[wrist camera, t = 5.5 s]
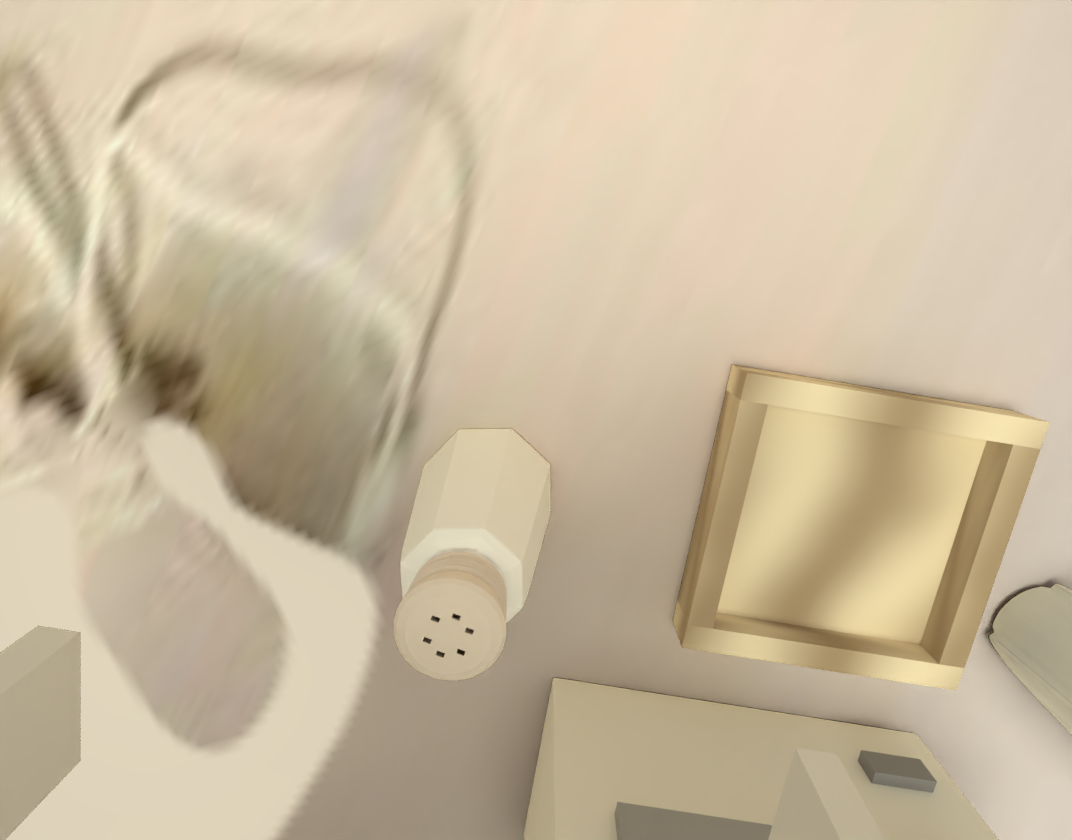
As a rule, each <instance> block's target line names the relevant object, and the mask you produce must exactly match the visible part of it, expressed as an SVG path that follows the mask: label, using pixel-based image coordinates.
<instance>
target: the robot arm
mask: <svg viewBox="0 0 1072 840" xmlns="http://www.w3.org/2000/svg"><path fill="white" fill-rule="evenodd" d="M79 761H80V632H75V631H69V630H63V629H56V628H50V627H44V626H37V627H36V628H34V629H33V630H31V631H30V632H29V633H27V634H26V635H24V636H23V637H22V638H20V639H19V640H17V641H16V642H14V643H13V644H12V645H10V646H9V647H7V648H6V649H5V650H3V651H2V652H0V840H5V839H6V838H7V837H8V836H9V835H10V834H11V833H12V832H13V831H14V830H15V829H16V828H17V827H18V826H19V825H20V824H21V822H22V821H23V820H24V819H25V818H26V817H27V816H28V815H29V814H30V813H31V812H32V811H33V810H34V809H35V808H36V807H37V806H38V805H39V804H40V803H41V801H42V800H43V799H44V798H45V797H46V796H47V795H48V794H49V793H50V792H51V791H52V790H53V789H54V788H55V787H56V786H57V785H58V784H59V783H60V782H61V780H62V779H63V778H64V777H65V776H66V775H67V774H68V773H69V772H70V771H71V770H72V769H73V768H74V767H75V766H76V764H78V763H79ZM768 840H885V839H884V837H883V835H882V833H881V832H880V830H879V828H878V826H877V825H876V823H875V821H874V819H873V817H872V816H871V814H870V812H869V810H868V809H867V807H866V805H865V803H864V802H863V800H862V798H861V796H860V794H859V793H858V791H857V789H856V787H855V786H854V784H853V782H852V780H851V779H850V777H849V775H848V773H847V771H846V770H845V768H844V766H843V764H842V763H841V761H840V759H839V757H838V756H837V754H832V753H826V752H820V751H813V750H807V749H801V748H795V751H794V754H793V757H792V761H791V764H790V768H789V771H788V774H787V778H786V781H785V785H784V788H783V791H782V795H781V798H780V801H779V805H778V808H777V812H776V815H775V818H774V822H773V825H772V828H771V832H770V835H769V839H768Z"/></svg>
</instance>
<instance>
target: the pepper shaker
mask: <svg viewBox="0 0 1072 840" xmlns="http://www.w3.org/2000/svg"><path fill="white" fill-rule="evenodd" d="M550 514H551V496H550V464H549V463H548V462H547V461H546V460H545V459H544V458H543V457H542V456H541V455H540V454H539V453H538V452H537V451H535V450H534V449H533V448H532V447H531V446H530V445H529V444H528V443H527V442H526V441H525V440H524V439H523V438H522V437H520V436H519V435H518V434H517V433H516V432H515V431H514V430H513V429H459V430H458V431H457V432H456V433H455V434H454V435H453V436H452V437H451V438H450V439H449V440H448V441H447V442H446V443H445V444H444V446H443V447H442V448H441V449H440V450H439V451H438V452H437V453H436V454H435V455H434V456H433V457H432V458H431V459H430V460H429V461H428V462H427V463H426V464H425V465H424V467H423V471H422V475H421V479H420V483H419V487H418V491H417V494H416V498H415V502H414V506H413V510H412V514H411V518H410V522H409V525H408V529H407V533H406V537H405V541H404V545H403V549H402V554H401V561H400V571H401V586H402V601H401V603H400V604H399V606H398V608H397V610H396V613H395V617H394V622H393V631H394V639H395V642H396V644H397V647H398V650H399V651H400V653H401V654H402V656H403V657H404V658H405V660H406V661H407V662H408V663H409V664H410V665H411V666H413V667H414V668H415V669H416V670H417V671H419V672H421V673H423V674H425V675H427V676H429V677H432V678H436V679H440V680H445V681H460V680H464V679H468V678H472V677H475V676H477V675H478V674H480V673H482V672H484V671H486V670H487V669H488V668H489V667H490V666H491V665H492V664H494V663H495V662H496V660H497V659H498V657H499V655H500V654H501V652H502V651H503V648H504V644H505V640H506V623H507V622H508V621H509V620H511V619H512V618H513V617H514V616H515V615H516V614H517V613H518V612H519V611H520V610H521V609H522V608H523V606H524V604H525V601H526V599H527V596H528V592H529V589H530V585H531V582H532V578H533V575H534V571H535V568H536V564H537V561H538V557H539V553H540V550H541V546H542V543H543V539H544V536H545V532H546V529H547V525H548V522H549V518H550Z"/></svg>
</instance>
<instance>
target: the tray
mask: <svg viewBox="0 0 1072 840" xmlns="http://www.w3.org/2000/svg"><path fill="white" fill-rule="evenodd" d="M1049 423H1050V422H1047V421H1043V420H1040V419H1037V418H1034V417H1031V416H1028V415H1025V414H1021V413H1018V412H1015V411H1012V410H1006V409H1000V408H994V407H988V406H982V405H976V404H969V403H963V402H957V401H951V400H945V399H939V398H933V397H927V396H921V395H915V394H909V393H903V392H896V391H890V390H884V389H878V388H872V387H866V386H860V385H854V384H848V383H842V382H836V381H830V380H823V379H817V378H811V377H805V376H799V375H793V374H787V373H781V372H775V371H769V370H763V369H756V368H750V367H744V366H738V365H732V367H731V371H730V375H729V380H728V384H727V388H726V393H725V397H724V401H723V406H722V410H721V414H720V419H719V423H718V427H717V432H716V436H715V440H714V445H713V449H712V453H711V458H710V462H709V466H708V471H707V475H706V479H705V484H704V488H703V492H702V497H701V501H700V505H699V510H698V514H697V518H696V523H695V527H694V531H693V536H692V540H691V544H690V549H689V553H688V557H687V562H686V566H685V570H684V575H683V579H682V583H681V588H680V592H679V596H678V601H677V605H676V609H675V614H674V618H673V623H674V626H675V629H676V632H677V635H678V638H679V640H680V643H681V646H682V648H688V649H694V650H700V651H707V652H713V653H720V654H726V655H733V656H739V657H745V658H752V659H758V660H765V661H771V662H777V663H784V664H790V665H797V666H803V667H809V668H816V669H822V670H829V671H835V672H841V673H848V674H854V675H861V676H867V677H873V678H880V679H886V680H893V681H899V682H905V683H912V684H918V685H925V686H931V687H937V688H944V689H950V690H957V687H958V685H959V682H960V679H961V676H962V673H963V670H964V667H965V664H966V662H967V659H968V656H969V653H970V650H971V647H972V644H973V641H974V639H975V636H976V633H977V630H978V627H979V624H980V621H981V618H982V616H983V613H984V610H985V607H986V604H987V601H988V598H989V595H990V593H991V590H992V587H993V584H994V581H995V578H996V575H997V572H998V570H999V567H1000V564H1001V561H1002V558H1003V555H1004V552H1005V549H1006V547H1007V544H1008V541H1009V538H1010V535H1011V532H1012V529H1013V526H1014V524H1015V521H1016V518H1017V515H1018V512H1019V509H1020V506H1021V503H1022V501H1023V498H1024V495H1025V492H1026V489H1027V486H1028V483H1029V480H1030V478H1031V475H1032V472H1033V469H1034V466H1035V463H1036V460H1037V457H1038V455H1039V452H1040V449H1041V446H1042V443H1043V440H1044V437H1045V434H1046V432H1047V429H1048V426H1049Z"/></svg>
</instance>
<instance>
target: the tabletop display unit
mask: <svg viewBox="0 0 1072 840" xmlns="http://www.w3.org/2000/svg"><path fill="white" fill-rule="evenodd" d="M795 748H801V749H807V750H813V751H820V752H826V753H832V754H837V756H838V757H839V759H840V761H841V763H842V764H843V766H844V768H845V770H846V771H847V773H848V775H849V777H850V779H851V780H852V782H853V784H854V786H855V787H856V789H857V791H858V793H859V794H860V796H861V798H862V800H863V802H864V803H865V805H866V807H867V809H868V810H869V812H870V814H871V816H872V817H873V819H874V821H875V823H876V825H877V826H878V828H879V830H880V832H881V833H882V835H883V837H884V839H885V840H999V839H998V838H997V837H996V835H995V834H994V833H993V831H992V830H991V829H990V828H989V826H988V825H987V824H986V822H985V821H984V820H983V819H982V817H981V816H980V815H979V814H978V812H977V811H976V810H975V808H974V807H973V806H972V805H971V803H970V802H969V801H968V799H967V798H966V797H965V796H964V794H963V793H962V792H961V790H960V789H959V788H958V787H957V785H956V784H955V783H954V782H953V780H952V779H951V778H950V776H949V775H948V774H947V773H946V771H945V770H944V769H943V767H942V766H941V765H940V764H939V762H938V761H937V760H936V758H935V757H934V756H933V755H932V753H931V752H930V751H929V749H928V748H927V747H926V746H925V744H924V743H923V742H922V741H921V739H920V738H919V737H918V735H917V734H915V733H909V732H902V731H896V730H889V729H883V728H876V727H870V726H863V725H857V724H851V723H844V722H838V721H831V720H825V719H818V718H812V717H805V716H799V715H792V714H786V713H779V712H773V711H767V710H760V709H754V708H747V707H741V706H734V705H728V704H721V703H715V702H708V701H702V700H695V699H689V698H683V697H676V696H670V695H663V694H657V693H650V692H644V691H637V690H631V689H624V688H618V687H611V686H605V685H599V684H592V683H586V682H579V681H573V680H566V679H560V678H553V681H552V687H551V692H550V697H549V702H548V708H547V713H546V718H545V724H544V729H543V734H542V739H541V745H540V750H539V755H538V760H537V766H536V771H535V776H534V782H533V787H532V792H531V797H530V803H529V808H528V813H527V818H526V824H525V829H524V840H768V839H769V835H770V832H771V828H772V825H773V822H774V818H775V815H776V812H777V808H778V805H779V801H780V798H781V795H782V791H783V788H784V785H785V781H786V778H787V774H788V771H789V768H790V764H791V761H792V757H793V754H794V751H795Z"/></svg>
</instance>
